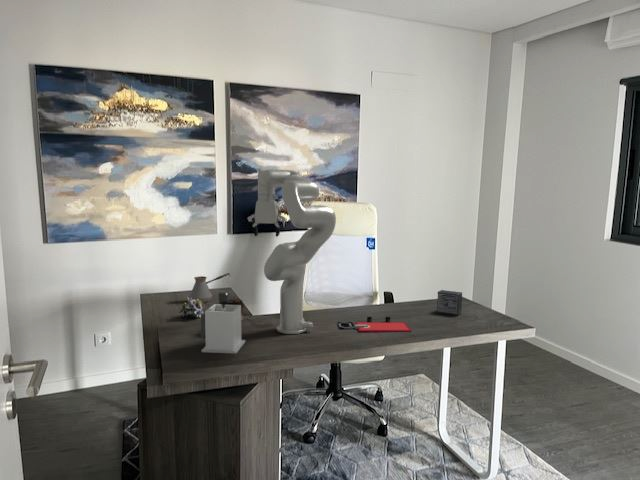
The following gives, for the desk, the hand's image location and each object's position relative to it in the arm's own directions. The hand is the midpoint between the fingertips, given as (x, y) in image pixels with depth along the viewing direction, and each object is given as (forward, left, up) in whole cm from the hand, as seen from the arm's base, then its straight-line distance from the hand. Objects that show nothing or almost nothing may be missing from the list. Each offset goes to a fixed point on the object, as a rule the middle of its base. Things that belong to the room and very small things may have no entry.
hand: (266, 236), depth 212 cm
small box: (-86, -21, -39) cm, 97 cm away
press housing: (+8, +40, -38) cm, 56 cm away
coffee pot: (+37, -28, -38) cm, 60 cm away
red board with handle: (-49, +7, -39) cm, 63 cm away
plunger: (+8, +40, -37) cm, 55 cm away
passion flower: (+35, +3, -39) cm, 52 cm away
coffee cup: (+10, +20, -38) cm, 45 cm away
